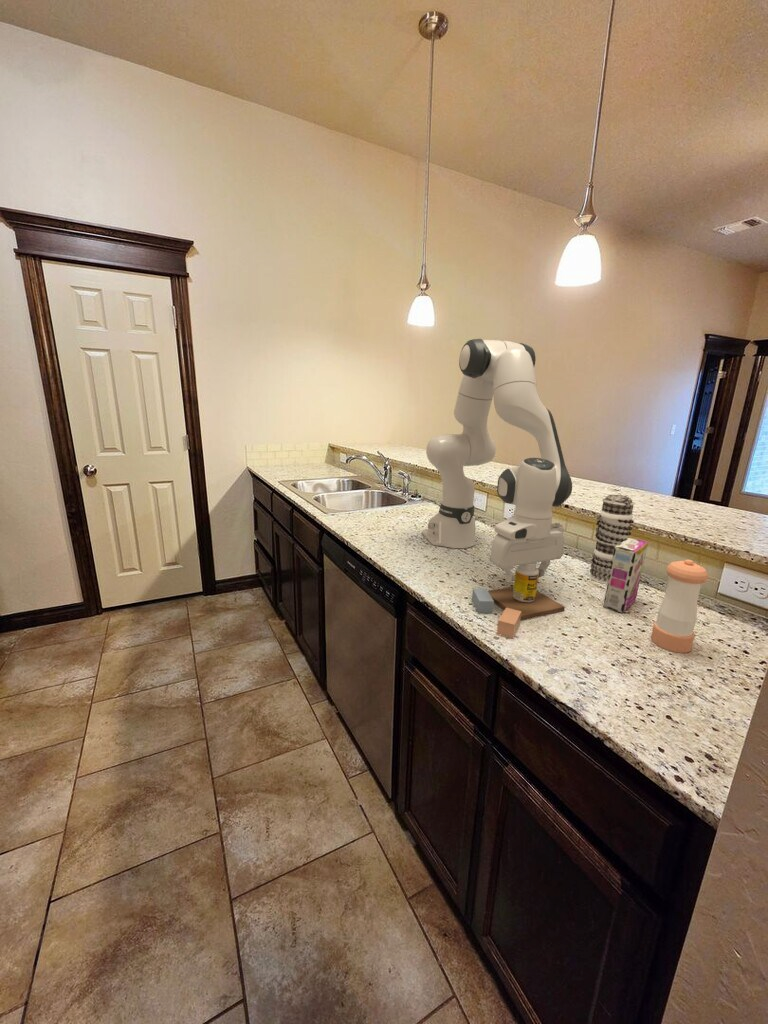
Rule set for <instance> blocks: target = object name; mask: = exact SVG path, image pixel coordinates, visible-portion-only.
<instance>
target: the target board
mask: <svg viewBox="0 0 768 1024" xmlns="http://www.w3.org/2000/svg"><path fill="white" fill-rule="evenodd" d="M513 588H514V585H511V586H507V587H500V588H495V589H490V590H489V589H488V592H489V594H490V595H491V597H492V599H493V601H494V604H495V606H497V607H499V608H500V609H501V610H502V611H504V610H505V609H506V608H510V609H514V610H518V611H522V612H521V621H525V620H530V619H534V618H538V617H542V616H543V617H544V616H548V615H552V614H557V613H561V612H565V609H566V607H565V605H564V604H563V605H562V604H561V603H559V602H558V601H556V600H554V599H552V598H550V597H549V596H547V594H544V593H542V592H541V591H539V590H537V589H536V597H535V600H534V601H532V602H521V601H518V600H516V599H515V598H514V597H513Z"/></svg>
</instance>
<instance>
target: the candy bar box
mask: <svg viewBox="0 0 768 1024" xmlns="http://www.w3.org/2000/svg"><path fill="white" fill-rule="evenodd" d="M627 538H628V539H626V540H624V541H623V542H621V543H620V544H618V545H616V546H615V547H614V553H613V558H612V563H611V568H610V573H609V579H608V584H606V585H607V586H606V589H605V594H604V595H605V596H604V600H603V604H602V606H603V607H604V608H606V609H609V610H611V611H613V612H614V611H615V612H617V613H621V614H623V613H625V612H626V611H627V609H629V608H630V606H632V604H633V603H634V602H635V601H636V600H637V596H638V591H639V587H640V581H641V576H642V572H643V569H644V568H643V567H644V563H645V559H646V555H647V551H648V550H647V549H648V545H649V542H647V541H644V540H640V539H636V538H631V537H627Z"/></svg>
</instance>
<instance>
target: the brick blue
mask: <svg viewBox="0 0 768 1024" xmlns="http://www.w3.org/2000/svg"><path fill="white" fill-rule="evenodd" d="M488 591H489V589H487V588H480V587H479V588H475V587H474V588H472V591H471V592H472V595H471V602H472V603H473V606H474V608H475V610H476V612H477V614H481V615H482V614H486V615H488V614H489V615H490V614H491V615H493V614H494V601H493V599H492V597H491V595H490V594H489V592H488Z"/></svg>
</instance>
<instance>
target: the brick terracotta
mask: <svg viewBox="0 0 768 1024" xmlns="http://www.w3.org/2000/svg"><path fill="white" fill-rule="evenodd" d="M521 612H522V611H518V610H514V609H510V608H506V609H505V610H503V611H502V613H501V615H500V617H499V619H498V620H497V632H496V635H499V634H501V635H500V636H503V635H504V636H503V637H506V636H507V637H506V638H510V637H511V638H510V639H514V638H513V637H515V636H514V635H516V634H515V633H517V631H518V630H519V627H520V625H521V621H522V620H521Z"/></svg>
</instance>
